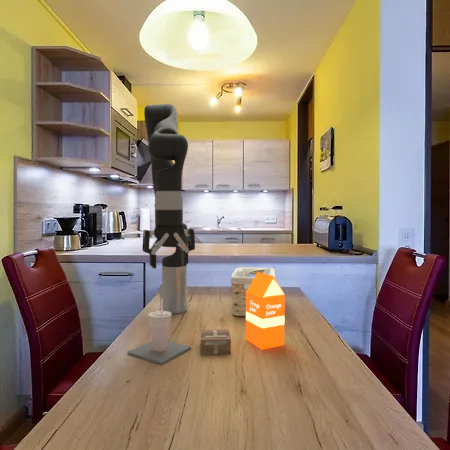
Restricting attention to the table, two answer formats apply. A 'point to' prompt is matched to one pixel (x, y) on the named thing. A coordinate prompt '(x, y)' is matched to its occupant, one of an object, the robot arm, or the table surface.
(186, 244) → the robot arm
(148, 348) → the slate pad
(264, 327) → the orange juice
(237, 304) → the storage basket
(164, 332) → the smoothie
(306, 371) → the table surface
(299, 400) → the table surface
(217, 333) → the lettered block
